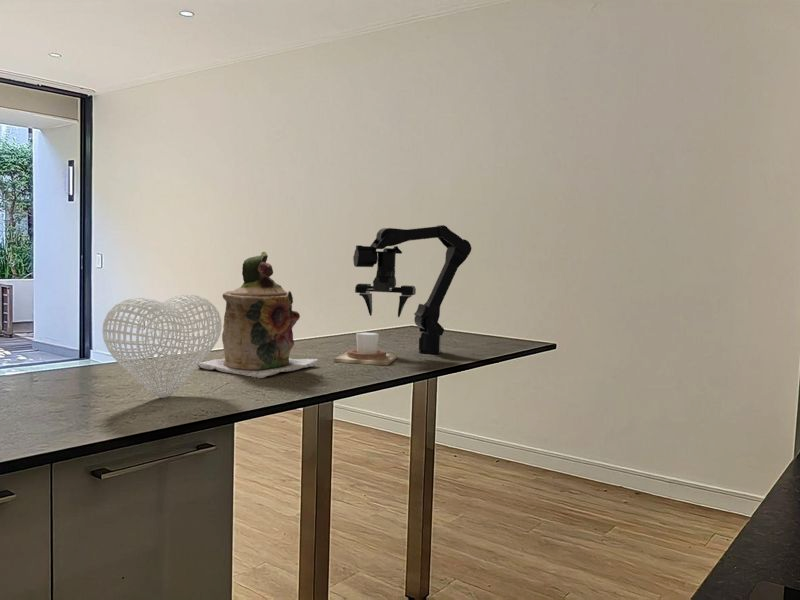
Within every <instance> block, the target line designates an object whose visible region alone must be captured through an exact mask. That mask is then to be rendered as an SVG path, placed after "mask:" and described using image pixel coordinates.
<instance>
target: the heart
mask: <svg viewBox="0 0 800 600" xmlns="http://www.w3.org/2000/svg"><path fill="white" fill-rule="evenodd" d="M192 306H193V307H192ZM199 307H200V309H199ZM130 308H131V309H130ZM186 308H187V309H186ZM136 309H137V310H136ZM135 310H136V311H135ZM181 310H182V311H181ZM146 311H147V312H146ZM121 313H122V315H120V314H121ZM126 314H127V316H125V315H126ZM190 314H191V315H190ZM201 314H202V316H203V318H202V316H201ZM132 315H134V317H132ZM185 315H186V316H185ZM196 316H198V318H196ZM138 317H139V318H138ZM118 318H120V319H118ZM156 318H157V319H156ZM191 318H192V319H191ZM130 320H131V321H130ZM145 322H146V325H145ZM112 326H113V327H112ZM122 326H123V328H122ZM152 326H153V327H152ZM170 326H171V328H170ZM185 327H186V328H185ZM190 327H191V328H190ZM222 327H223V326H222V318H221V315H220V311H219V310H218V309H217V307H216V306H215V305H214V304H213V303H212V301H210V300H208V299H207V298H204V297H202V296H199V295H196V294H182V295H181V294H180V295H176V296H174V297H171V298H168V299H166V300H165V301H162V302H160V301H158V300H156V299H152V298H151V299H150V298H145V297H136V298H135V297H134V298H128V299H124V300H123V301H121V302H118V303H117V304H114V306H113V307H112V308H111V309H109V311H108V312H107V314H106V316H105V318H104V320H103V324H102V337H103V341H104V345H105V346H106V348H107V350H108V352H109V354H110V355H111V356H112V358H113V359H114V360H115V361H116V362H117V363H118V364H119V366H120V367H122V368H123V369H124V370H125V371H126V372H128V373H129V374H130V375H131V376H132V377H134V378H135V379H136V380H137V381H138V382H139V383H140V384H141V385H142V386H143V387H144V388H145V389H147V390H148V392H149V393H150V392H151V394H152V395H154V396H156V397H158V398H163V399H164V398H168V397H170V396H172V395H173V394H174V393H176V392H177V391H178V390H179V389H180V387H182V385H183V384H184V383H185V382H186V380H187V379H188V378H189V377H190V375H191V374H193V372H194V371H195V369H196V368H198V365H199V364H200V363H201V362H203V361H204V360H205V358H206V357H207V356H208V355H209V354H211V352H212V350H213V349H214V347H215V346H216V344H217V342H218V341H219V338H220V337H221V334H222V333H221V332H222ZM128 328H130V330H129V331H128ZM122 329H123V330H122ZM133 329H136V332H135V333H134V332H133ZM144 329H145V332H144ZM140 330H141V331H140ZM157 331H158V334H159V335H158V334H157ZM200 331H202V332H201V333H202V334H201V333H200ZM205 331H207V333H206V332H205ZM140 332H141V333H140ZM196 332H197V334H196V335H195V333H196ZM178 333H179V334H178ZM190 334H191V335H190ZM128 335H129V340H127V336H128ZM122 336H123V340H122ZM133 336H135V340H133ZM164 336H165V337H164ZM169 336H170V337H169ZM140 337H141V340H140V339H139V338H140ZM155 340H157V343H158V344H156V341H155ZM202 340H203V342H202ZM150 341H152V343H150ZM173 341H174V343H173ZM191 341H192V343H191ZM168 343H169V345H168ZM117 344H118V345H117ZM122 345H123V347H122ZM127 345H130V348H128V346H127ZM176 345H177V346H176ZM185 345H186V346H185ZM134 346H136V348H134ZM141 346H142V347H141ZM195 347H196V348H195ZM159 349H161V350H160V351H159ZM194 349H195V350H194ZM169 351H170V353H169ZM179 351H180V353H179ZM168 353H169V354H168ZM130 354H131V355H130ZM156 354H157V356H155V355H156ZM189 355H190V356H189ZM172 357H173V358H172ZM176 357H177V359H176ZM149 358H152V359H149ZM181 358H183V359H181ZM173 364H174V365H173ZM179 364H180V365H179ZM141 367H142V368H141ZM153 369H154V370H153ZM166 370H167V371H166ZM170 370H172V372H170ZM154 374H156V376H155V375H154ZM170 375H171V376H170ZM150 376H151V377H150ZM169 376H170V377H169ZM164 382H165V383H164Z"/></svg>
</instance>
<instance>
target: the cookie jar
mask: <svg viewBox="0 0 800 600" xmlns="http://www.w3.org/2000/svg"><path fill="white" fill-rule="evenodd" d="M268 257H269V256H268V253H267V252H266V251H262V252H261V253H260V255H256V256H255V255H254V256H251V257H249V258H246V259H244V260H243V263H242V272H241V273H242V280H243V284H242V285H241V286H240V287H238V288H235V289H234V290H229V291H225V292H223V293H222V298H223V300H224V301H225V302H226V303H225V304H226V305H225V313H224V316H223V326H222V327H223V330H222V333H221V339H222V345H223V350H224V352H223V353H224V358H219V359H218V358H217V359H211V360H207V361H202V362H201V363H200V364H199V365H198V366H197V368H198V369H201V368H202V369H204V370H215V371H219V372H223V373H227V374H233V375H239V376H240V375H241V376H246V377H250V376H251V378H256V377H257V378H256V379H264V378H267V376H268V377H269V376H273V375H274V376H275V375H276V374H279V373H281V372H283V373H284V372H293V371H297V370H301V369H306V368H309V367H314V366H316V365H317V362H318V360H319V359H318V358H300V359H299V358H297V359H295V358H291V357H290V354H291V350H292V349H293V348H294V346H295V340H294V334H293V333H294V332H293V328H294V326H295V325H296V324H297V321H299V320H300V318H301V315H300V313H299V312H298V311H296V310H293V303H294V297H293V294H292V292H291V290H287V291H285V289H284V288H283V287H282V286H281V285H280V284H278V283H276V282H275V280H273V278H272V277H271V276H273V274H274V269H273V266H272V264H270V263H267V261H268Z"/></svg>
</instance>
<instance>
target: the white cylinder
mask: <svg viewBox="0 0 800 600" xmlns="http://www.w3.org/2000/svg"><path fill="white" fill-rule="evenodd" d="M355 334H356V349H357V353H360V354H377V350H378V347H379V346H378V345H379V336H380V334H379V333H377V332H371V331H370V332H369V331H363V332H356V333H355Z"/></svg>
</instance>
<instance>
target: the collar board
mask: <svg viewBox="0 0 800 600" xmlns="http://www.w3.org/2000/svg"><path fill="white" fill-rule="evenodd" d="M396 359H398V354H393V353H387V351H386V350H381V349H377V354H360V353H357V348H355V349H354V348H353V349H352V348H351V349H348V350H347V351H346V352H344V353H342V354H340V355H338V356H335V358H333V362H334V363H345V364H363V365H374V366H388V365H390V364H392V362H394V361H395V360H396Z"/></svg>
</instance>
